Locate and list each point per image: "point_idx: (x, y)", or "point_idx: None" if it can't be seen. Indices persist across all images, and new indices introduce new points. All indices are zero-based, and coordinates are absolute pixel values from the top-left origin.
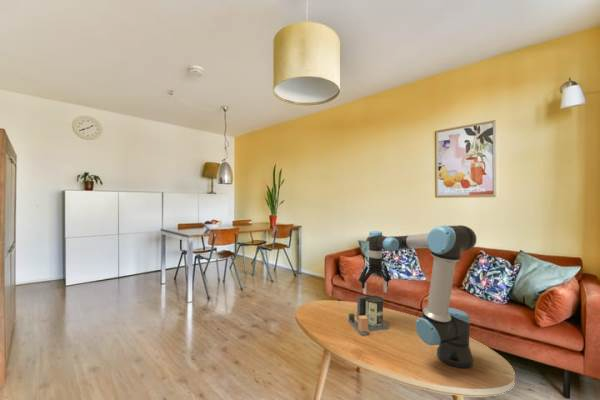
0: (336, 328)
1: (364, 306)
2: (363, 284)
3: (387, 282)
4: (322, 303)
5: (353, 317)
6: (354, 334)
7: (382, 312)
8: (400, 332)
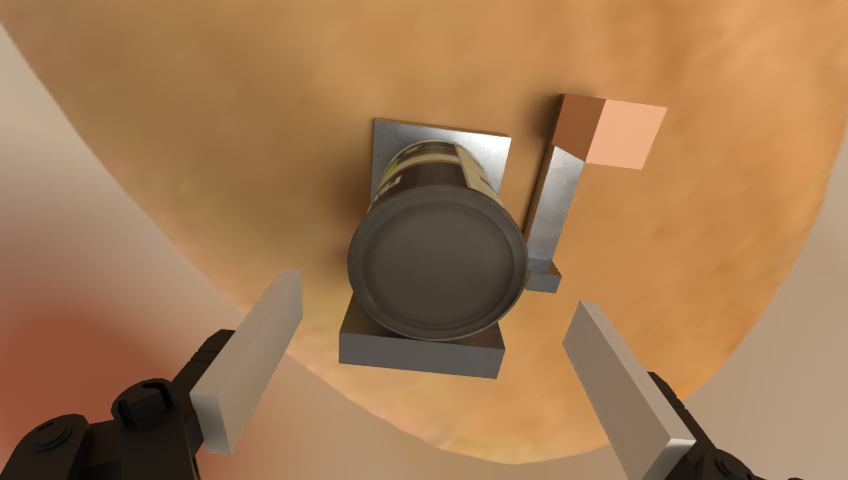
0: (655, 225)
1: None
2: (692, 429)
3: (178, 387)
4: (521, 445)
5: (533, 264)
6: None
7: (397, 169)
8: (330, 44)
